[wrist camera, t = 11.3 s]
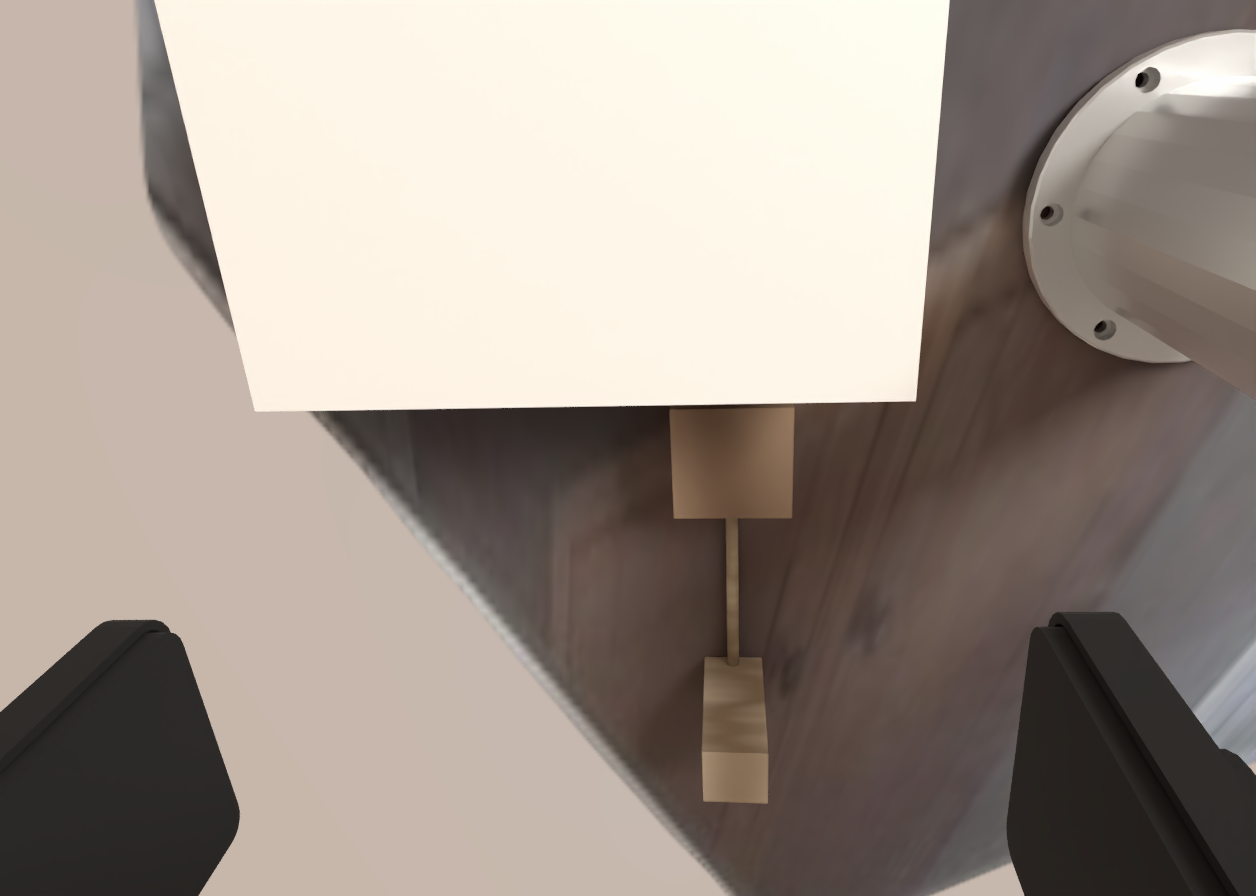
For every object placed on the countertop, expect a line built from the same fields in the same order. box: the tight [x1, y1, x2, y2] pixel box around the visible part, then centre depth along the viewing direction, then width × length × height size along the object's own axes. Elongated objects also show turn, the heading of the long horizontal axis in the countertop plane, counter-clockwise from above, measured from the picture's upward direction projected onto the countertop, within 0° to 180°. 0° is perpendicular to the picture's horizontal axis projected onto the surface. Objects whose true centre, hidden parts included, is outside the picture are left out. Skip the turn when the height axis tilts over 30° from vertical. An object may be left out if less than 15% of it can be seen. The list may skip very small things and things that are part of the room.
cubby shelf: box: [154, 0, 949, 412], centre depth 29 cm, size 20×16×14 cm
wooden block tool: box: [669, 403, 794, 803], centre depth 40 cm, size 5×19×7 cm, turn 3°
